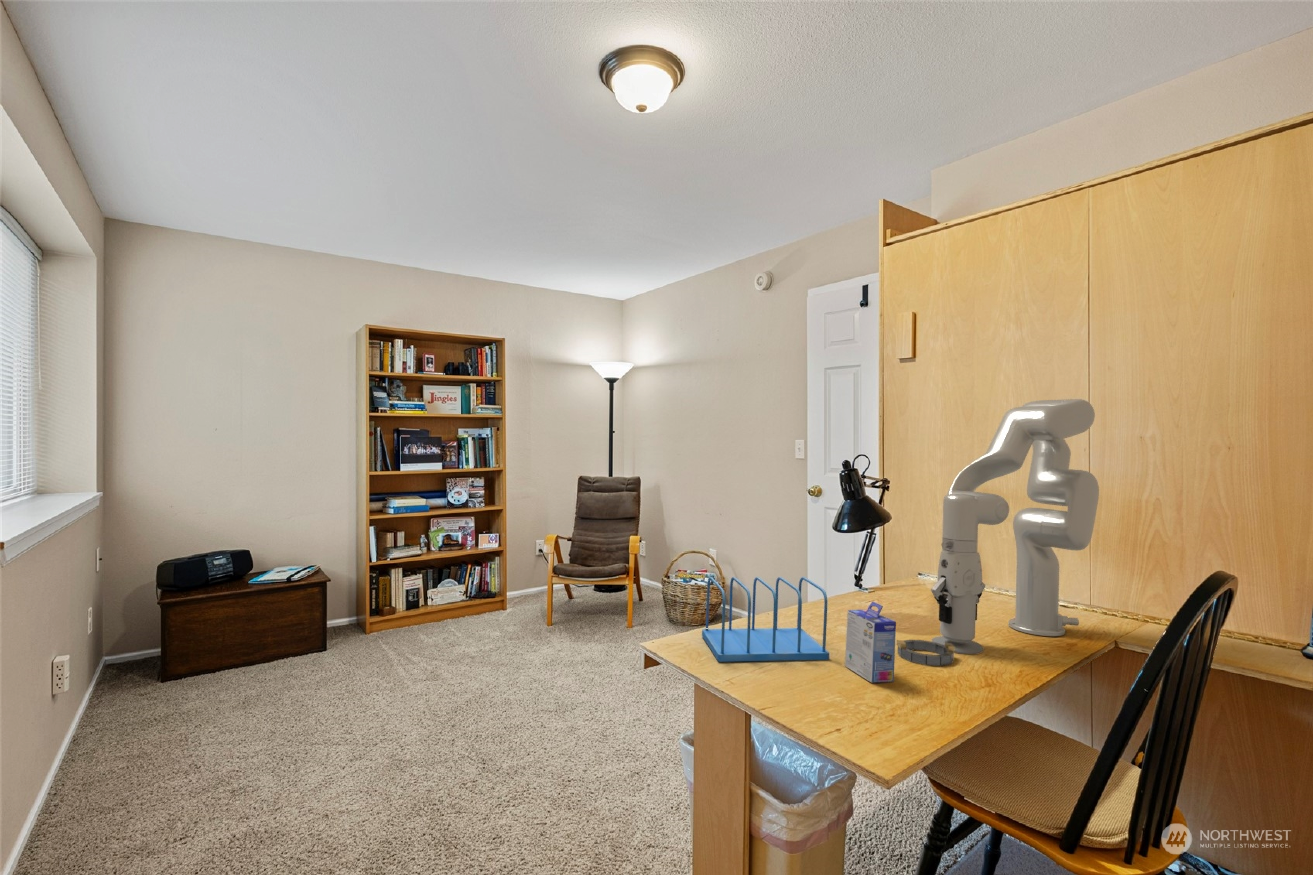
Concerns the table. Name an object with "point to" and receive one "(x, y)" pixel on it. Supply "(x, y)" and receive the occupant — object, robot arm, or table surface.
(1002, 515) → the robot arm
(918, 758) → the table surface
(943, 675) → the table surface
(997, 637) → the table surface
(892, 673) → the ink cartridge box
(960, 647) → the coaster
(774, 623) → the file sorter
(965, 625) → the can
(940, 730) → the table surface
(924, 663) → the collar
